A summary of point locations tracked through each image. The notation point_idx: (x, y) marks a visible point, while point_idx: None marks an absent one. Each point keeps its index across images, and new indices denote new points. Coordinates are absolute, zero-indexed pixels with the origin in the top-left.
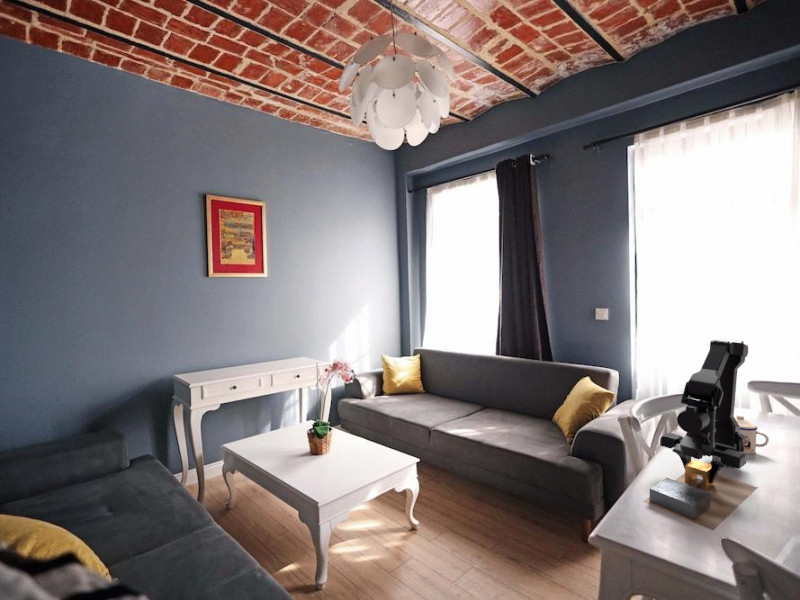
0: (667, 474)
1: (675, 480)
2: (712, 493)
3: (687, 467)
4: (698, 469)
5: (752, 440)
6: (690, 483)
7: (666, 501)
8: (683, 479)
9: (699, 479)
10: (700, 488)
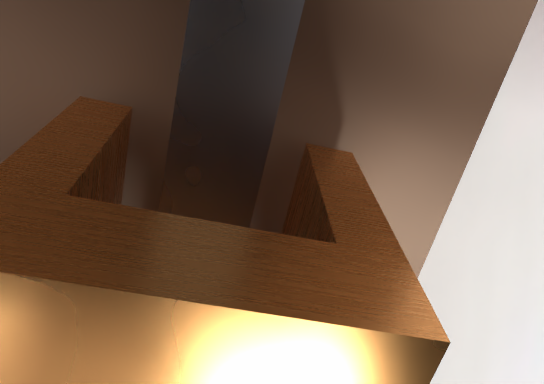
0: (500, 338)
1: (455, 168)
2: (6, 85)
3: (386, 297)
4: (125, 286)
5: None
6: (274, 44)
7: None
8: None
9: None
10: (162, 139)
